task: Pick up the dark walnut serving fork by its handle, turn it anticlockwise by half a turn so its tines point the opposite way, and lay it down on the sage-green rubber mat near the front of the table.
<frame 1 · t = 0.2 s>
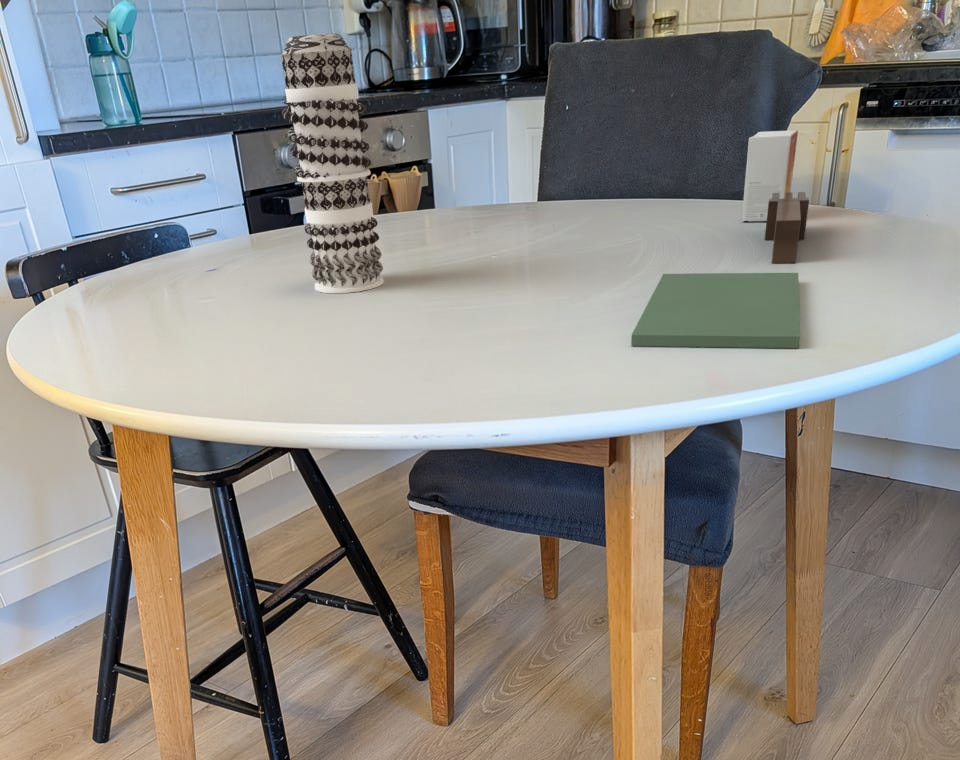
fork: (783, 250, 105), on the table
decorative candle: (349, 286, 106), on the table
mat: (721, 311, 84), on the table
small box: (765, 219, 125), on the table
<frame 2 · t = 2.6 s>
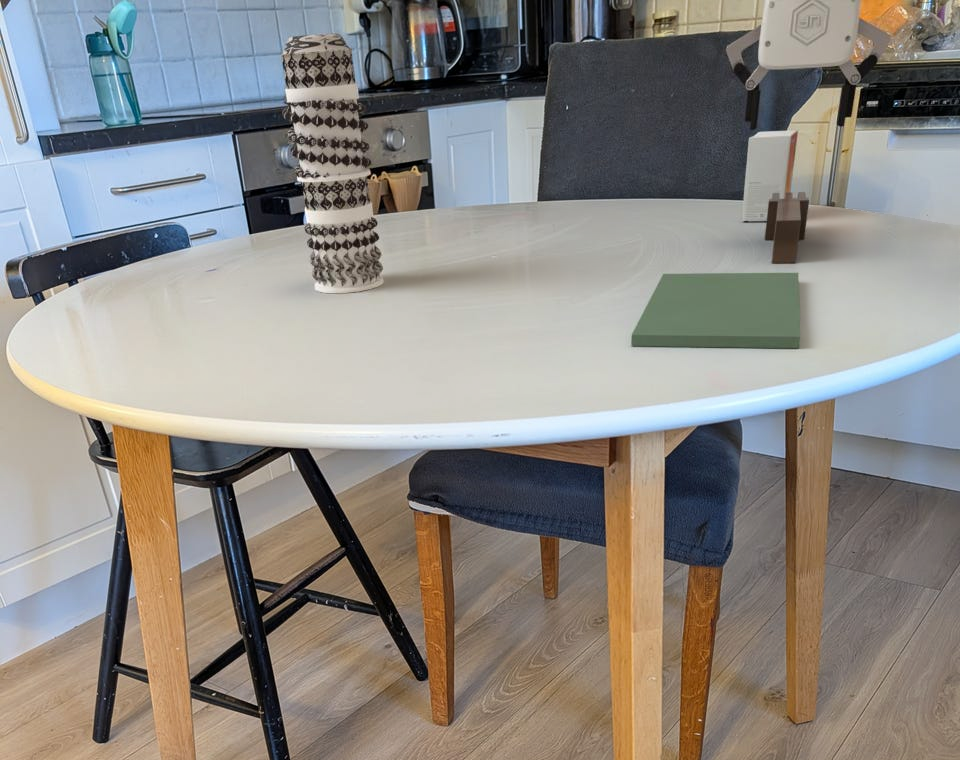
hand: (796, 127, 102), 13 cm above the table, tool pointing down, fingers open, 9 cm apart
nothing on the table moved.
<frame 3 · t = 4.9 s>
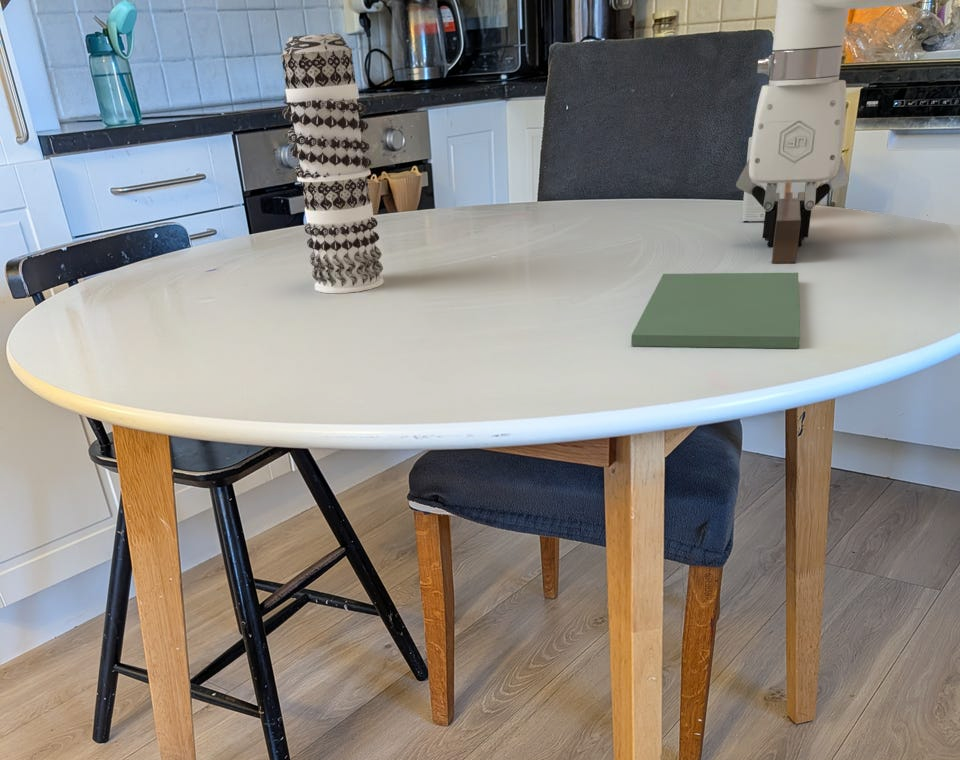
hand: (784, 242, 108), 0 cm above the table, tool pointing down, fingers closed on fork, 2 cm apart
fork: (783, 250, 105), on the table, touching gripper
everything else where it was.
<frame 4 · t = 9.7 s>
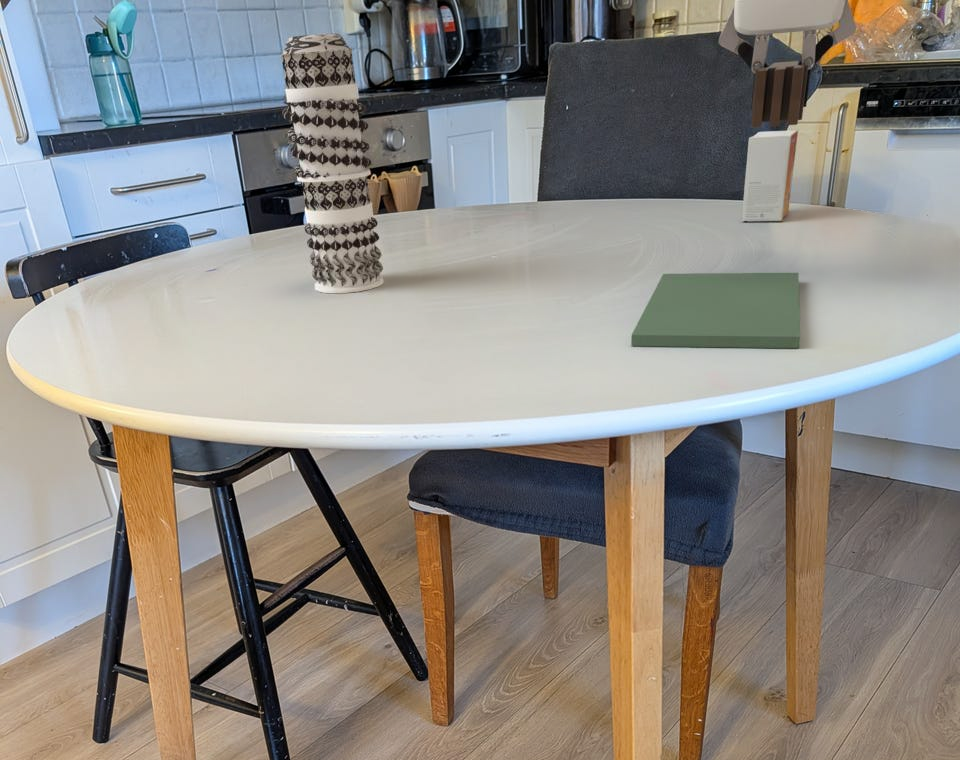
hand: (777, 115, 89), 15 cm above the table, tool pointing down, fingers closed on fork, 2 cm apart
fork: (778, 114, 93), point 15 cm above the table, touching gripper
everything else where it was.
when the fingers open (1 cm above the table, at t = 14.4 s): fork stays where it is, resting on mat.
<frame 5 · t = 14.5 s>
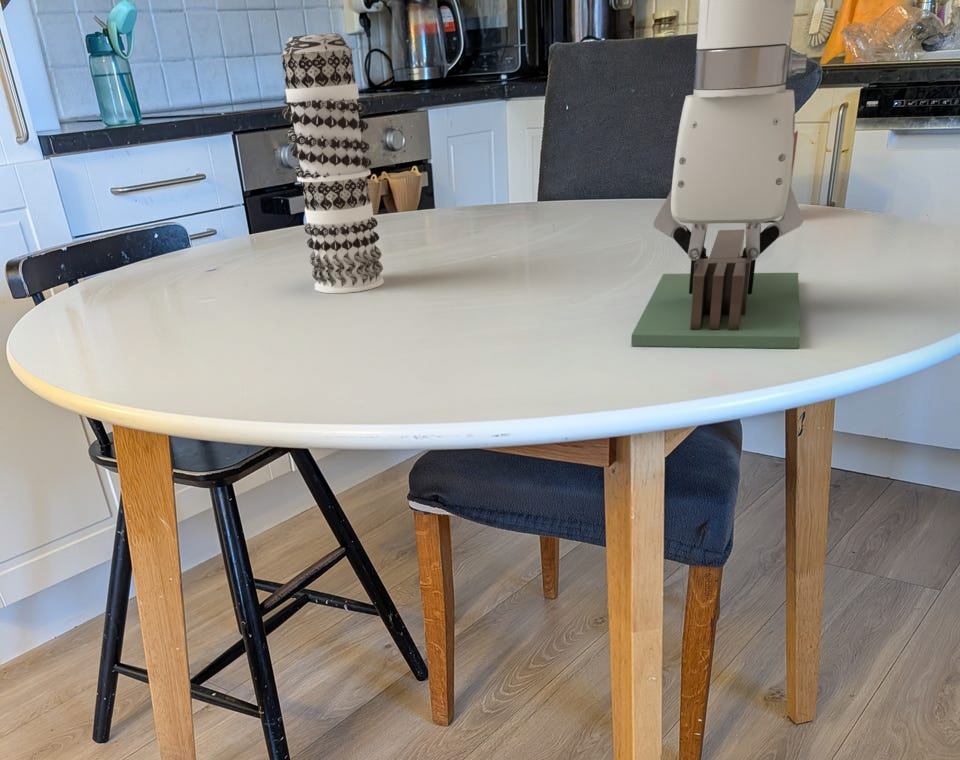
hand: (719, 300, 83), 1 cm above the table, tool pointing down, fingers open, 3 cm apart
fork: (723, 291, 87), point 1 cm above the table, touching mat
everything else where it was.
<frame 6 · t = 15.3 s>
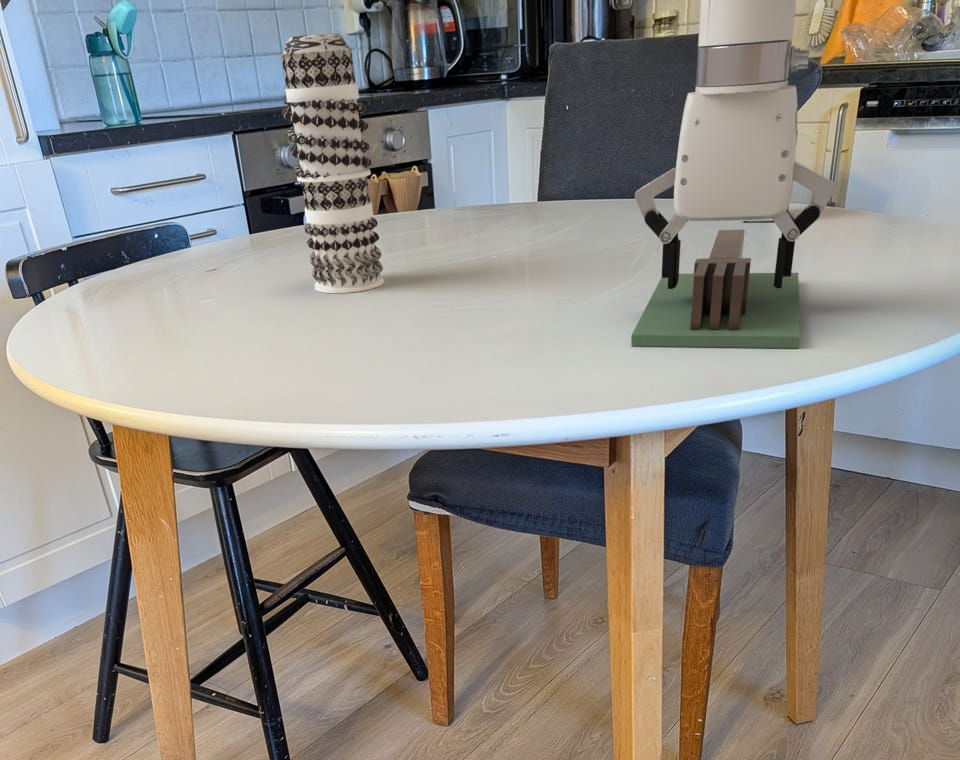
hand: (724, 285, 82), 3 cm above the table, tool pointing down, fingers open, 9 cm apart
nothing on the table moved.
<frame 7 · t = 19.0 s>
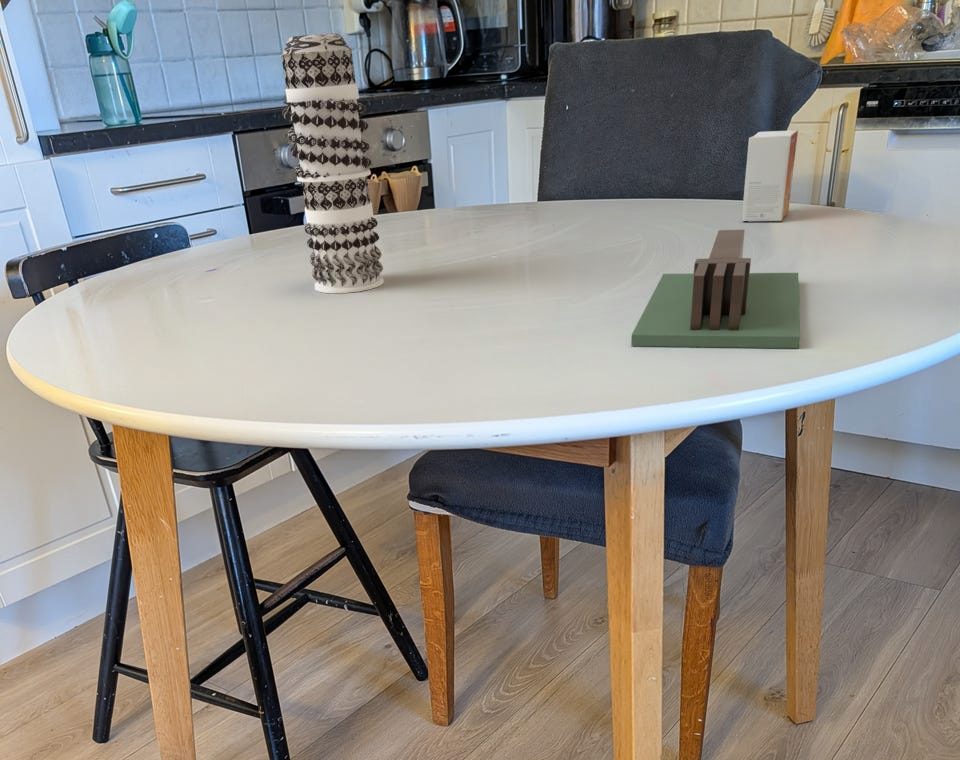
nothing on the table moved.
at the end: fork inside the target area on the mat (0.3 cm from its centre), point 1.0 cm above the mat's base; fork tilted 0°; the gripper is holding nothing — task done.
